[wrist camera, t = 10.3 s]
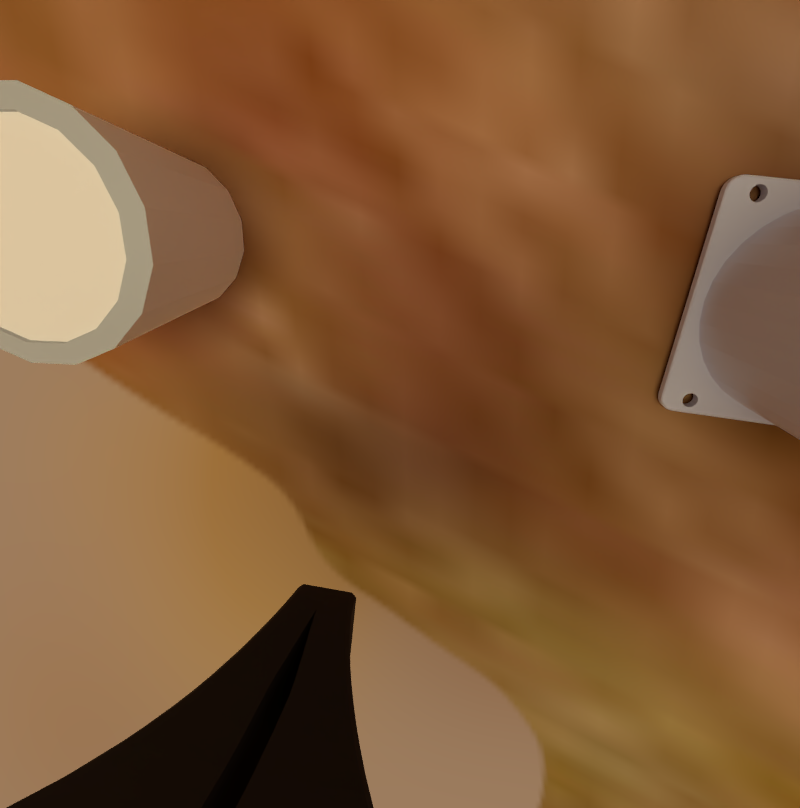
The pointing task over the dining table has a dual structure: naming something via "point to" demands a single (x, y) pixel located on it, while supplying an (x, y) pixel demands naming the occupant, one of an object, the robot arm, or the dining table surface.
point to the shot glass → (100, 232)
